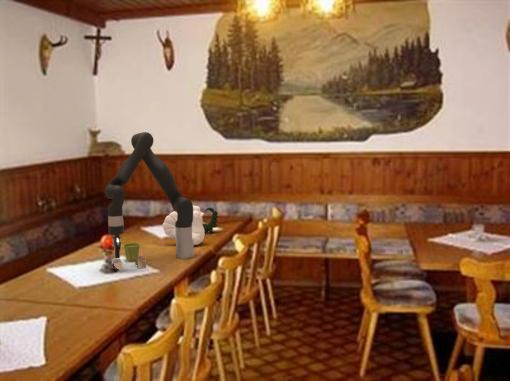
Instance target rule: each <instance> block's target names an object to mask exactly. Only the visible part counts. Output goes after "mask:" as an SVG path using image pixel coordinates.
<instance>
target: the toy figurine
mask: <svg viewBox="0 0 510 381" xmlns="http://www.w3.org/2000/svg"><path fill="white" fill-rule="evenodd" d="M207 211H210V212H211V213H212V215H211V219H210V222H209V223H203V224H202V225H203V228H204V230H205V231H204V233H205V235H206V233H208V232H209V233H213V231H214V228H215V229H216V228H217V227H218V224H217V223H218V217H219V216H218V215H219V212H218V211H217V210H215V209H214V207H206V209H205V212H207Z"/></svg>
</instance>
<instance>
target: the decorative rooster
mask: <svg viewBox="0 0 510 381" xmlns="http://www.w3.org/2000/svg"><path fill="white" fill-rule="evenodd" d="M204 215H205V213H204V212H202V211H201V207H200V206H199V205H194V204H193V222H192V240H193V245H194V246H197V245H200V244H201V243H202V242H203V241H204V238H205V235H206V234H205V233H204V231H205V230H204V228H203V225H202V224H204V223H203V216H204ZM163 221H164V222H163V223H162V228H163V231H164V234H165V235H166V236H168V237H169V238H170V239H175V240H176V234H175V222H176V221H177V212H175V210H173V211H172V212H170V213H169V215H167V216H166V217H165V219H164V220H163Z"/></svg>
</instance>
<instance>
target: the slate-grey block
mask: <svg viewBox="0 0 510 381" xmlns="http://www.w3.org/2000/svg"><path fill="white" fill-rule="evenodd" d="M112 259H113V263H114V266H115V267H116V268H117V269H119V270H122V271H123V261H122V260H121V257H120V258H112Z"/></svg>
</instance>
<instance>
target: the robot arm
mask: <svg viewBox="0 0 510 381" xmlns="http://www.w3.org/2000/svg"><path fill="white" fill-rule="evenodd" d="M130 139H131V140H130V141H131V142H130V143H131V145H132V147H133V150H132V153H130V155H129V156H128V157H127V158H126V159H125V160H124V162H123V163H122V165H121V166H120V167H119V169H118V171H117V173H116V174H115V176H114V177H113V178H112V179H111V180H110V181H109V183H108V184H107V185H106V187H105V189H104V194H105V195H104V196H105V197H106V198H107V199H110V200H112V202H111V204H109V205H108V208H107V212H108V214H107V215H108V216H107V218H108V220H107V222H108V223H107V225H108V227H107V228H108V234H109V235H110V236H112V237H111V238H112V239H111V240H112V245H113V250H114V259H119V258H120V259H121V256H120V255H121V254H120V251H121V245H122V242H121V241H122V237H121V236H120V235H122V234H125V229H124V228H125V227H124V226H125V225H124V216H123V206H124V201H125V197H126V196H125V194H126V192H125V189H124V187H122V186H125V185H127V184H128V183H129V181H130V179H131V177H132V176H133V174H134V172H135V171H136V169H137V167H138V166H139V164H140V163H141V161H142V160H143V162H144V164H145V165H146V167H147V169H148V170H149V171H150V173H151V175H152V176H153V178H154V180H155V181H156V182H157V184H158V186H159V187H160V188H161V190H162V191H163V193H164V194H165V196H166V197H167V199H168V201H169V203H170V205H171V207H172V208H173V211H175V212H177V221H176V222H175V234H176V239H175V258H176V259H191V258H195V254H194V253H195V252H194V251H195V250H194V246H195V245H193V240H192V222H193V205H194V204H193V201H191V200H190V199H189V198H186V197H185V196H184V195H183V194H182V193H181V192H180V190H179V189H178V187H177V184H176V180H175V178H174V175H173V173H172V172H171V170H170V168H169V166H168V165H167V164H166V163H165V162H164V161H163V160H162V159H160V158H159V157H158V156H157V155H156V154H155V153H154V152H153V150H152V147H153V144H154V137H153V135H152V133H150V132H146V131H142V132H138V133H134V135H132V136H131V138H130Z"/></svg>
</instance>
